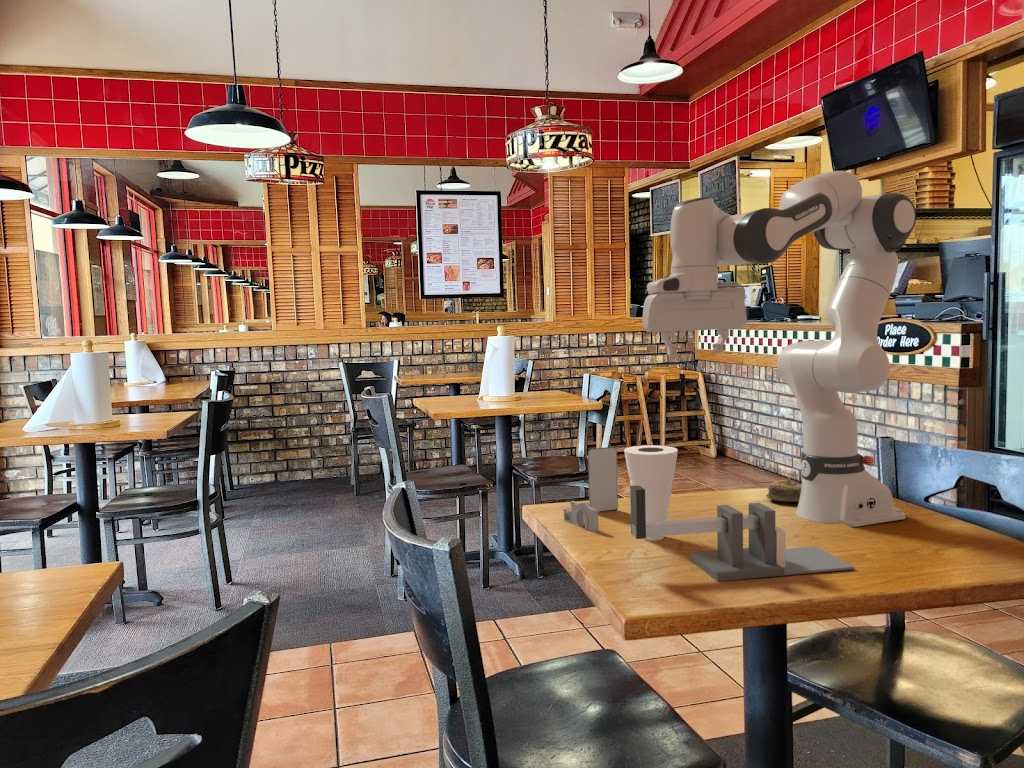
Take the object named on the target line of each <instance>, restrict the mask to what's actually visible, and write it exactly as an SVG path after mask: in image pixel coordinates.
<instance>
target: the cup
mask: <svg viewBox="0 0 1024 768" xmlns="http://www.w3.org/2000/svg"><path fill="white" fill-rule="evenodd" d="M623 450H624V451H623V452H624V457H625V462H626V467H627V472H628V478H629V483H630V486H641V487H642V488H644V489H645V511H646V522H659V521H668V518H669V517H668V516H669V509H670V502H671V497H672V490H673V484H674V483H673V482H674V477H675V472H676V471H675V470H676V464H677V459H678V458H677V457H678V448H676V447H675V446H674V447H673V446H668V445H658V444H657V445H652V444H650V445H649V444H648V445H647V444H646V445H634V446H630V447H626V448H624V449H623ZM665 537H666V536H656V537H646V538H644V539H643V540H644V541H650V542H651V541H652V542H653V541H654V542H657V541H662V540H663V539H665Z"/></svg>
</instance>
